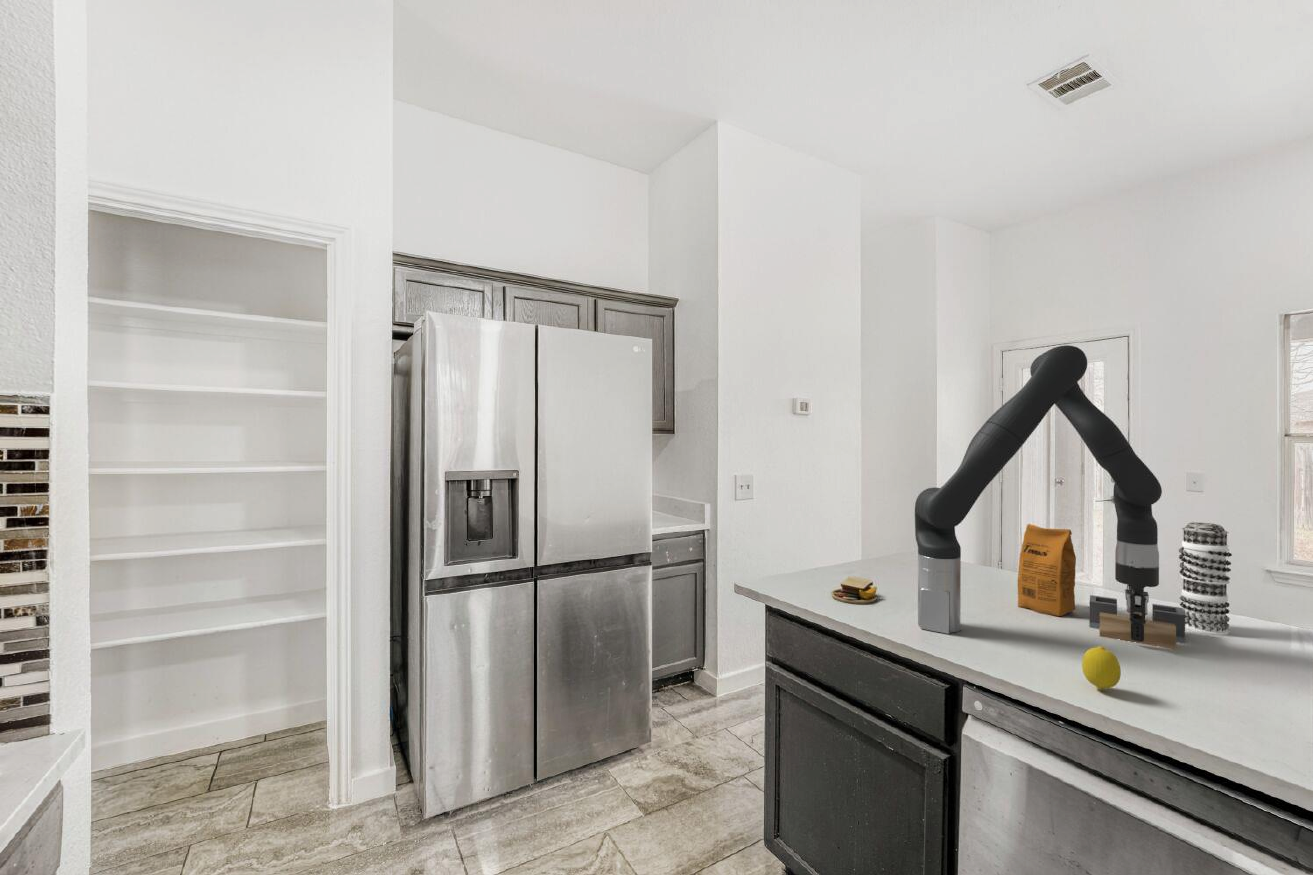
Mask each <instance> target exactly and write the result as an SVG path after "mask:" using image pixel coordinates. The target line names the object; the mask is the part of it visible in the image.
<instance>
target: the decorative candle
mask: <svg viewBox="0 0 1313 875" xmlns="http://www.w3.org/2000/svg"><path fill="white" fill-rule="evenodd" d="M1181 530H1182V532H1183V535H1182V537H1183V540H1182V541H1181V548H1179V549H1178V552H1179V556H1178V559H1179V560H1180V561H1182V562H1180V563H1179V567H1180V568H1181V569H1179V570H1180V571H1179V574H1180V576H1179V577H1180V578H1181V579H1183V580H1182V581H1183V582H1182V588H1181V596H1180V597H1179V600H1181V601H1182V602H1180V603H1179V606H1180V607H1181V608H1182V609H1183V611H1184V614H1185V630H1188V631H1191V632H1195V633H1199V634H1206V635H1214V636H1227V635H1228V634H1230V631H1229V630H1228V629H1229V628H1230V624H1229V622H1230V617H1229V616H1228V615H1227V614H1229V613H1230V610H1229V609H1228V607H1230V603H1229V602H1228V601H1229V600H1228V599H1229V596H1228V594H1227V586H1228V585H1229V584H1230V580H1231V578H1230V577H1229V576H1228V575H1227V573H1229V572H1231V571H1232V569H1231V568H1229V567H1228V566H1231V565H1232V562H1231V561H1229V560H1228V559H1227V558H1230V557H1231V556H1232V557H1233V554H1232V553H1230V552H1229V551H1230V549H1229V545H1228V534H1229V533H1230V532H1229V531H1227V530H1225V528H1224V527H1223V526H1222V525H1221V524H1218V523H1210V522H1189V523H1187V525H1185V527H1182V528H1181Z"/></svg>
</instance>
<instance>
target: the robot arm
mask: <svg viewBox="0 0 1313 875" xmlns="http://www.w3.org/2000/svg"><path fill="white" fill-rule="evenodd" d="M1087 368H1088V358H1087V356H1086V354H1085V352H1084V351H1083V350H1082V349H1081V348H1079V347H1077V346H1074V345H1069V344H1067V345H1066V344H1065V345H1059V346H1055V347H1053V348H1051V349H1049V350H1046V351H1045V352H1043V353H1042V354H1040V355H1038V356H1037V357H1036V358H1035V359H1034V360H1033V361H1032V362H1031V366H1030V369H1029V370H1030V372H1029V373H1030V376H1031V377H1030V378H1029V379H1028V380H1027V382H1026V383H1025V384H1024V386H1023V387H1022V388H1020V390H1019V391H1018V392H1017V393H1016V394H1015V395H1013V396H1012V397H1011V398H1010V399H1008V400H1007V401H1006V402H1005V403H1003V405H1002V406H1001V407H999V408H998V409H997V410H996V411H994V413H993V414H992V415H991V416H990V417H989V418H988V419H987V420H986V421H985V422H984V424H982V426H981V427H980V429H979V430H978V431H977V432H976V433H975V435H974V436H973V437H972V439H971V440H970V442H969V444H968V446H967V449H966V451H965V454H964V456H963V458H962V461H961V463H960V465H959V467H958V468H957V470H956V471H955V472H954V473H953V475H951V476H950V478H948V480H947V481H946V482H945V483H944V484H943V485H942V486H941V487H928V488H925V489H924V490H922V491H921V492H920V493H919V494H918V496H917V497H916V500H915V505H914V530H915V532H914V533H915V541H916V543H917V624H918V626H919V627H920V629H922V630H926V631H927V630H928V631H933V632H937V633H942V634H951V633H956V632H959V631H961V617H962V616H961V613H962V612H961V606H962V605H961V602H962V601H961V599H962V598H961V597H962V596H961V585H962V584H961V583H962V582H961V577H962V576H961V571H962V561H961V559H962V557H961V556H962V548H961V545H960V543H959V541H958V538H957V536H956V527H957V526H959V524H961V523H962V522H963V521H964V519H966V517H967V515H968V514H969V513H970V512H971V510H972V508H973V506H974V504H975V503H976V502H977V501H978V499H979V497H980V496H981V494H982V493H983V491H985V489H986V488H987V486H988V485H989V484H990V483H991V482H992V481H993V480H994V479H995V477H997V475H998V474H999V473H1000V472H1001V471H1002V469H1004V467H1005V466H1006V464H1008V462H1010V460H1012V459H1013V457H1015V455H1016V454H1017V452H1018V451H1020V449H1021V448H1022V447H1023V446H1024V444H1025V443H1026V441H1028V439H1029V438H1030V436H1031V435H1032V434H1033V432H1034V431H1035V430H1036V429H1037V427H1038V426H1039V425H1040V423H1041V422H1042V421H1043V419H1044V418H1045V417H1046V415H1047V414H1048V412H1049V411H1050V410H1051V409H1052V408H1053V407H1054V406H1056V407H1057V409H1059V411H1060V412H1061V413H1062V414H1063V415H1064V416H1065V418H1066V419H1067V421H1069V423H1070V424H1071V425H1072V427H1073V428H1074V429H1075V431H1076V432H1077V433H1078V435H1079V436H1080V438H1081V440H1082V441H1083V442H1084V444H1085V445H1086V447H1087V448H1088V450H1089V452H1090V454H1092V456H1093V458H1094V459H1095V461H1096V462H1097V464H1099V466H1100V467H1101V468H1102V469H1103V470H1105V471H1106V472H1107V473H1108V474H1109V476H1110V478H1112V480H1113V482H1114V485H1113V491H1112V492H1113V504H1114V507H1115V514H1116V520H1117V524H1116V544H1115V545H1116V546H1115V550H1114V551H1115V556H1114V557H1115V558H1114V559H1115V561H1114V562H1115V564H1114V566H1115V567H1114V568H1115V569H1114V570H1115V572H1114V573H1115V574H1114V575H1115V577H1114V578H1115V581H1116V582H1119V583H1121V584H1123V585H1127V587H1128V589H1127V588H1126V589H1125V590H1124V596H1125V600H1126V601H1125V602H1126V610H1127V611H1126V612H1127V613H1129V617H1130V619H1129V621H1130V623H1131V639H1132V640H1134V641H1140V642H1143V641H1144V625H1145V623H1146V620H1145V619H1146V616H1147V615H1148V603H1149V602H1150V601H1149V600H1150V599H1149V598H1150V595H1149V592H1148V591H1145V588H1147V587H1148V588H1155V587H1158V586H1159V585H1160V552H1159V545H1158V538H1159V537H1158V534H1159V533H1158V532H1159V531H1158V530H1159V529H1158V523H1157V521H1156V519H1155V518H1154V516H1153V509H1152V508H1153V507H1152V505H1154V504H1156V503H1157V502H1158V501H1160V499H1161V497H1162V494H1163V490H1162V485H1161V483H1160V481H1159V480H1158V478H1157V477H1156V475H1155V474H1154V473H1153V472H1152V471H1151V469H1150V468H1149V467H1148V466H1147V465H1146V463H1144V461H1142V459H1141V458H1139V456H1138V455H1137V454H1136V452H1135V450H1134V449H1133V447H1132V446H1131V443H1129V441H1128V440H1127V438H1126V437H1125V436H1124V434H1123V432H1122V431H1121V429H1120V428H1119V426H1117V424H1116V423H1114V421H1113V420H1112V419H1110V417H1108V415H1106V414H1105V413H1104V412H1103V411H1102V410H1100V409H1099V408H1098V407H1097V406H1096V405H1095V404H1093V402H1092V401H1091V400H1090V399H1089V398H1088V397H1087V396H1086V394H1085V393H1084V391H1083V390H1082V389H1081V387H1080V384H1079V381H1080V380H1081V379H1082V378H1083V376H1084V375H1085V374H1086V371H1087Z"/></svg>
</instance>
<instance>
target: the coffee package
mask: <svg viewBox="0 0 1313 875" xmlns="http://www.w3.org/2000/svg"><path fill="white" fill-rule="evenodd" d="M1072 534H1073V533H1072V530H1071V529H1066V528H1044V527H1040V526H1037V525H1034V524H1030V523H1027V524H1026V528H1025V532H1024V534H1023V540H1022V544H1021V550H1020V553H1019V559H1018V560H1019V562H1018V573H1017V607H1018V608H1025V609H1029V610H1032V611H1035V612H1037V613H1039V614H1045V615H1050V616H1056V617H1062V616H1064V615H1066V614H1069V613H1072V612H1074V611H1076V597H1075V586H1076V564H1077V557H1076V553H1075V550H1074V545H1073V541H1072Z"/></svg>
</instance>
